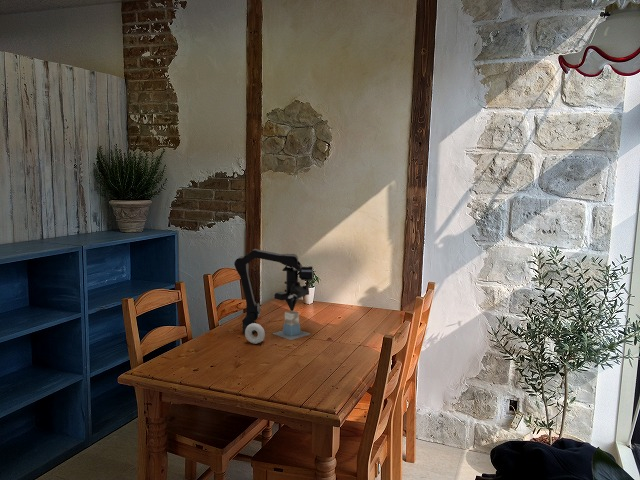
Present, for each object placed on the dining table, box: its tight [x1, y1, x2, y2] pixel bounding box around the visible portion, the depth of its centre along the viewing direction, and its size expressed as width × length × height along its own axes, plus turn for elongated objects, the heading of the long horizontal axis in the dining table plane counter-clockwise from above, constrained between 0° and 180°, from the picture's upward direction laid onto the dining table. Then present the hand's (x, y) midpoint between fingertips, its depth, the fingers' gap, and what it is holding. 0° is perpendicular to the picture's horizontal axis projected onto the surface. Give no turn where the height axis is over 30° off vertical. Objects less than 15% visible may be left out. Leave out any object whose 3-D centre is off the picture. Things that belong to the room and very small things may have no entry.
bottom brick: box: [282, 323, 301, 336], centre depth 261 cm, size 6×6×5 cm
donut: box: [244, 322, 266, 345], centre depth 248 cm, size 10×4×10 cm, turn 73°
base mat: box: [271, 329, 311, 341], centre depth 262 cm, size 14×14×1 cm
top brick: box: [284, 310, 300, 326], centre depth 261 cm, size 5×5×6 cm
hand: (291, 310), depth 260 cm, fingers closed
